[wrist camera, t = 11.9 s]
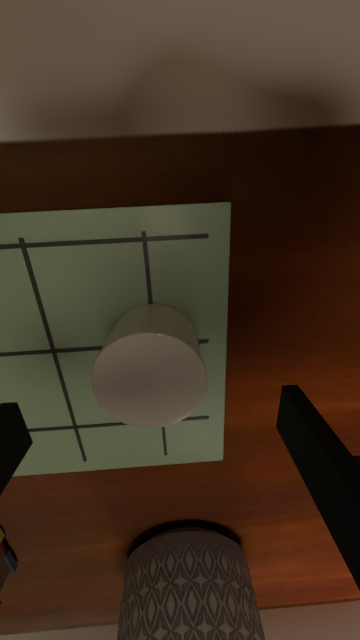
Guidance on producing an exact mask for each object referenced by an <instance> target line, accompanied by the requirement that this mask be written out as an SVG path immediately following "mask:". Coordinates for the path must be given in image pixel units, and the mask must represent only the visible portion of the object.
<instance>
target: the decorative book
mask: <svg viewBox="0 0 360 640" xmlns="http://www.w3.org/2000/svg"><path fill="white" fill-rule="evenodd" d="M4 536H5V535H4V533H3V531H2V529H1V528H0V591H1V589H2V586H3V584H4V582H5V580H6V578H7V575H8V573H12V572H15V570H16V568H17V566H18V565H17V563H16V561H15V559H14V557H13V555H12V554H11V552H10V550H9V551H7V549H6V547H5V545H4V543H3V542H2V540H3V538H4ZM0 605H1V601H0Z"/></svg>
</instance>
